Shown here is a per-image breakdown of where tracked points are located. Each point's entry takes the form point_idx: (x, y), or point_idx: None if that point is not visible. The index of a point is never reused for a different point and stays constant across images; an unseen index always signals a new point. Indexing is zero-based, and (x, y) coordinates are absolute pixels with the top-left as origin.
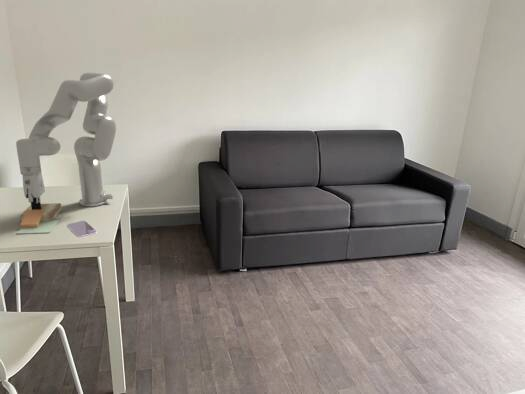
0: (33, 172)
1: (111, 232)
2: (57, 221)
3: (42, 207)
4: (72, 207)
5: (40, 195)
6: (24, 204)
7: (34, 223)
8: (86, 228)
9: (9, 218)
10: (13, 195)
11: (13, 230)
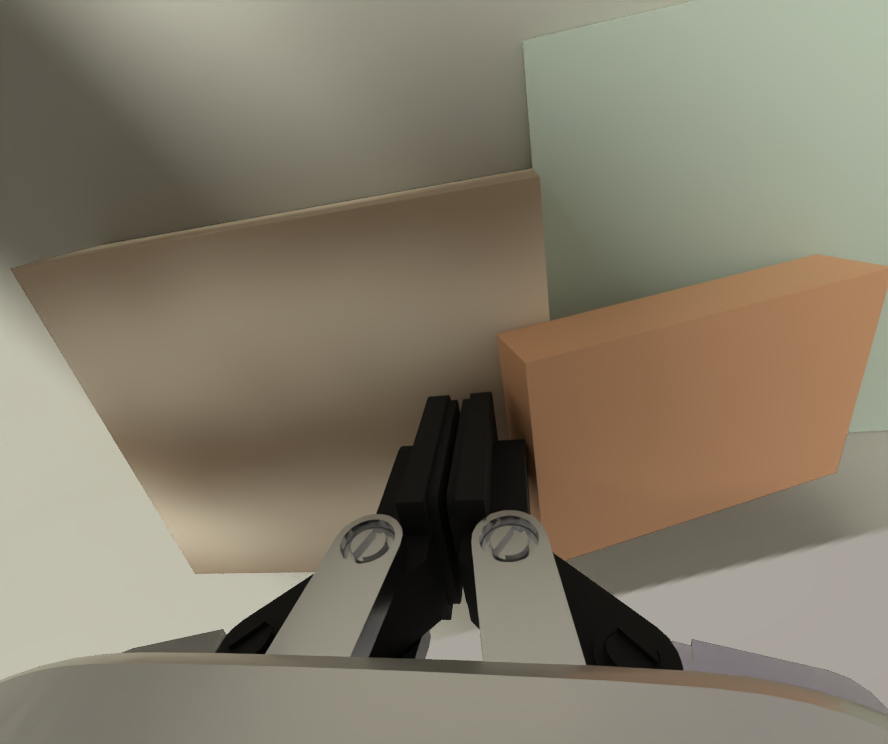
0: None
1: None
2: (585, 37)
3: (257, 441)
4: None
5: (523, 691)
6: (147, 606)
7: (872, 306)
8: None
9: (462, 605)
10: None
11: (804, 487)
